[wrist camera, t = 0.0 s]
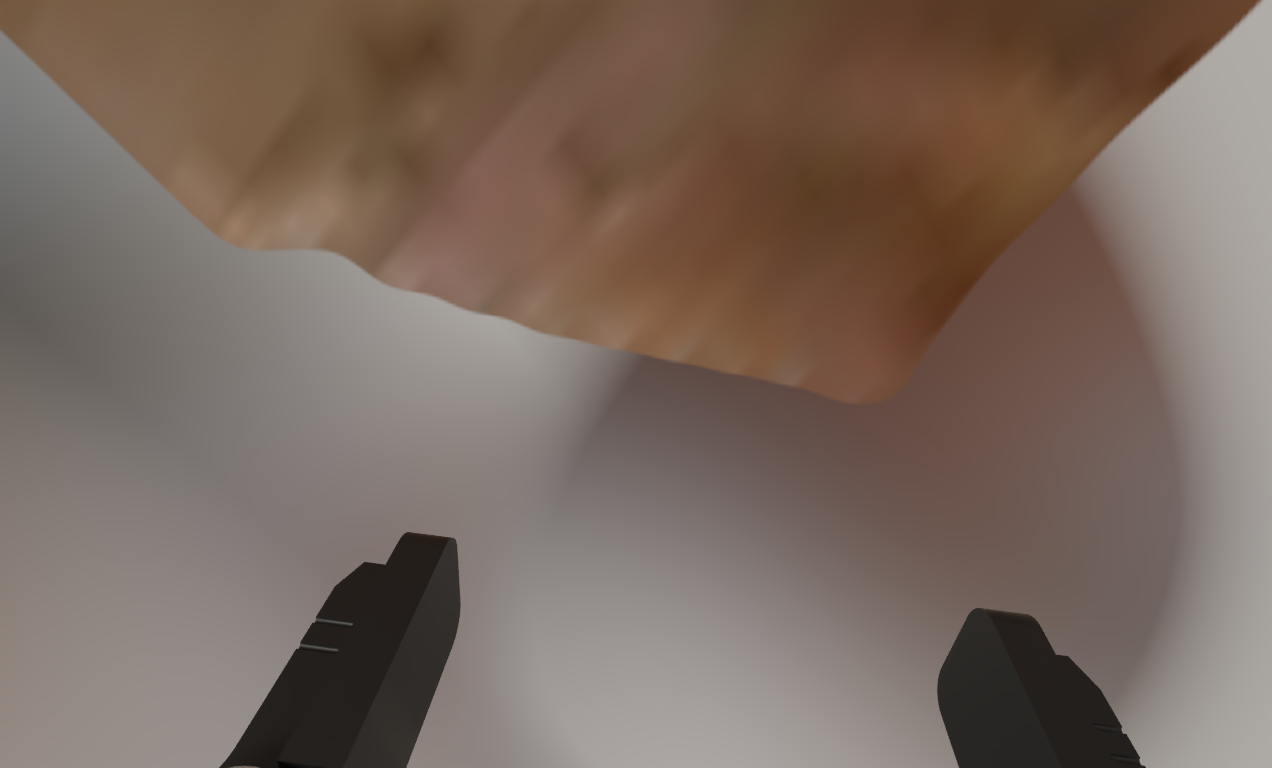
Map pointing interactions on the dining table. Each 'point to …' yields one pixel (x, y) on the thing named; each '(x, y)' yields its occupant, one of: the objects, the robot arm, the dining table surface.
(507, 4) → the dining table surface
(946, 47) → the dining table surface
